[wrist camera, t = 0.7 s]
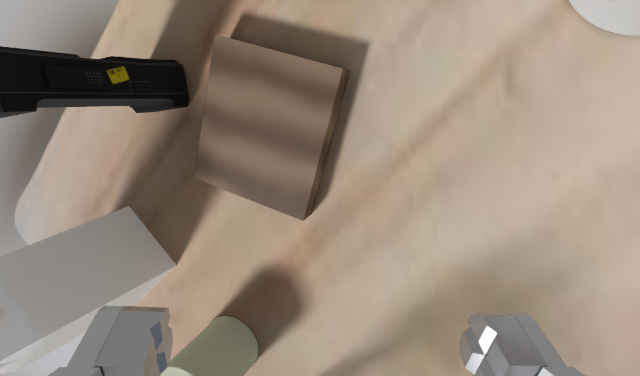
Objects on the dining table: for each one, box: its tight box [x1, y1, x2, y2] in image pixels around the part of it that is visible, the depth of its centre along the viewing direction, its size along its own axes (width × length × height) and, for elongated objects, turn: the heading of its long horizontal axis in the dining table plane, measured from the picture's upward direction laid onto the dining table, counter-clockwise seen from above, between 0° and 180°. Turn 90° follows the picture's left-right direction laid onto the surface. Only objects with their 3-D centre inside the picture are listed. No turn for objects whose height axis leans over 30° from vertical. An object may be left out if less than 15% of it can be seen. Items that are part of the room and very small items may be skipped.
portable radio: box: [0, 46, 188, 118], centre depth 38 cm, size 8×6×25 cm
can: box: [160, 316, 258, 376], centre depth 51 cm, size 9×9×12 cm
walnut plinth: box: [194, 34, 350, 220], centre depth 45 cm, size 18×16×3 cm
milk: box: [0, 206, 177, 374], centre depth 47 cm, size 12×12×26 cm
